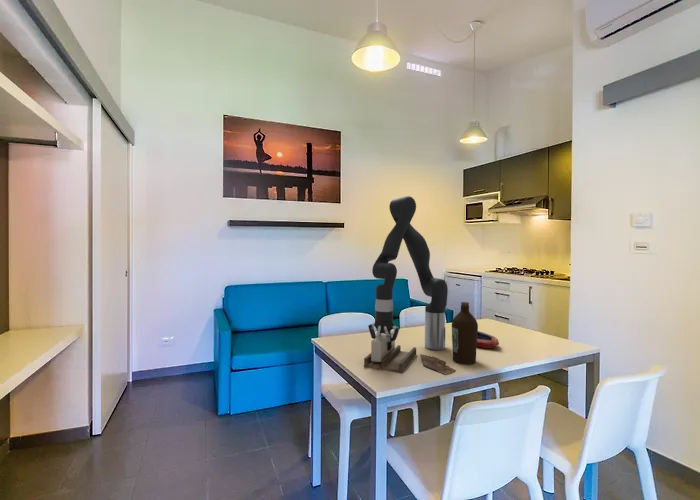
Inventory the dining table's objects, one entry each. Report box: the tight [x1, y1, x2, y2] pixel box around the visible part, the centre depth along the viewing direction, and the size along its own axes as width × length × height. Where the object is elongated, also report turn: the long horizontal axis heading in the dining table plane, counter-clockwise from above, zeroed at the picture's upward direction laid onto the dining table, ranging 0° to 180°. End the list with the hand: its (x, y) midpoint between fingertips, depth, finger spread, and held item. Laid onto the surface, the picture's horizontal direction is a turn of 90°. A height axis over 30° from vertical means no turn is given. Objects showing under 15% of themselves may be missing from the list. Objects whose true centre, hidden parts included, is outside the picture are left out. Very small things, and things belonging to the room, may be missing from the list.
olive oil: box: [451, 301, 479, 365], centre depth 150 cm, size 11×11×25 cm
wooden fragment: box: [419, 353, 457, 376], centre depth 147 cm, size 26×11×1 cm, turn 8°
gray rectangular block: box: [370, 330, 396, 362], centre depth 151 cm, size 4×20×8 cm, turn 157°
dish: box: [477, 330, 500, 349], centre depth 180 cm, size 16×31×5 cm, turn 17°
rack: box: [363, 345, 417, 374], centre depth 150 cm, size 16×24×4 cm, turn 157°
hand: (383, 349), depth 151 cm, fingers closed on gray rectangular block, 4 cm apart
